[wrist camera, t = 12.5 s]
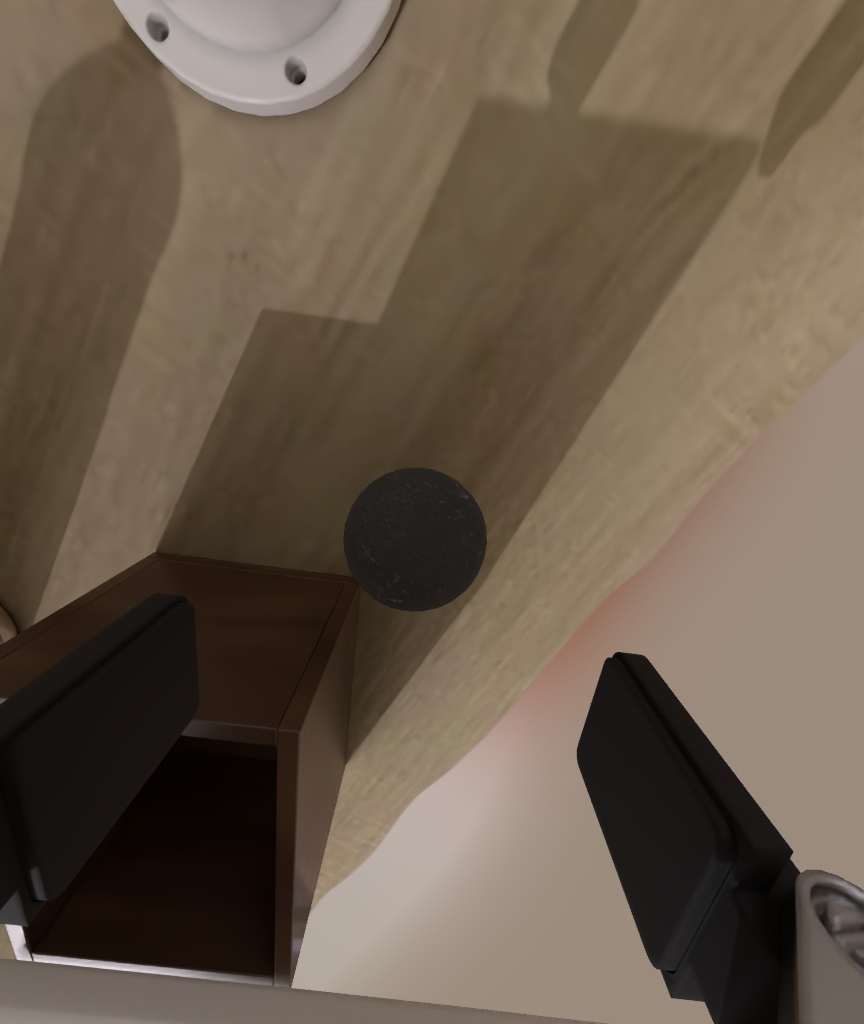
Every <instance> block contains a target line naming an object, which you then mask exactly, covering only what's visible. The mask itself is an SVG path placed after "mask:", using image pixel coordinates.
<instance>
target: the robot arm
mask: <svg viewBox="0 0 864 1024" xmlns="http://www.w3.org/2000/svg"><path fill="white" fill-rule="evenodd" d="M114 2H115V4H116V5H117V7H118V8H119V10H120V11H121V13H122V14H123V16H124V18H125V19H126V21H127V22H128V24H129V25H130V27H131V28H132V29H133V30H134V31H135V33H136V34H137V35H138V36H139V37H140V39H141V40H142V41H143V42H144V43H145V44H146V46H147V47H148V48H149V49H150V50H151V52H152V53H153V54H154V55H155V56H156V57H157V58H158V59H159V60H160V61H161V62H162V63H163V64H164V65H165V66H166V67H167V68H168V69H169V70H170V71H171V72H172V73H173V74H174V75H175V76H176V77H177V78H178V79H179V80H180V81H181V82H183V83H184V84H186V85H187V86H189V87H190V88H192V89H193V90H194V91H196V92H197V93H199V94H200V95H202V96H203V97H205V98H206V99H208V100H210V101H212V102H215V103H217V104H219V105H222V106H224V107H226V108H229V109H231V110H233V111H237V112H242V113H248V114H253V115H258V116H278V115H291V114H295V113H298V112H301V111H304V110H308V109H311V108H314V107H317V106H319V105H320V104H322V103H324V102H325V101H327V100H329V99H330V98H332V97H334V96H335V95H337V94H339V93H341V92H342V91H343V90H344V89H345V88H346V87H347V86H348V85H349V84H350V83H351V82H352V81H353V80H355V79H356V78H357V77H358V76H359V75H360V74H361V73H362V72H363V71H364V70H365V68H366V67H367V65H368V64H369V63H370V61H371V60H372V58H373V57H374V55H375V54H376V53H377V51H378V50H379V48H380V47H381V46H382V44H383V42H384V40H385V38H386V36H387V34H388V32H389V29H390V27H391V25H392V23H393V21H394V19H395V17H396V15H397V12H398V10H399V6H400V3H401V0H114ZM301 80H305V81H304V82H303V83H301V84H300V85H298V84H299V82H300V81H301ZM198 706H199V683H198V664H197V645H196V627H195V610H194V606H193V605H192V604H190V603H188V600H187V598H186V597H184V596H180V595H173V594H165V593H154V594H152V595H151V596H149V597H148V598H147V599H145V600H144V601H142V602H141V603H140V604H138V605H137V606H135V607H134V608H133V609H131V610H130V611H129V612H127V613H126V614H124V615H123V616H122V617H120V618H119V619H117V620H116V621H115V622H113V623H112V624H111V625H109V626H108V627H106V628H105V629H104V630H102V631H101V632H100V633H98V634H97V635H95V636H94V637H93V638H91V639H90V640H88V641H87V642H86V643H84V644H83V645H82V646H80V647H79V648H77V649H76V650H75V651H73V652H72V653H70V654H69V655H68V656H66V657H65V658H64V659H62V660H61V661H59V662H58V663H57V664H55V665H54V666H52V667H51V668H50V669H48V670H47V671H46V672H44V673H43V674H41V675H40V676H39V677H37V678H36V679H35V680H33V681H32V682H30V683H29V684H28V685H26V686H25V687H23V688H22V689H21V690H19V691H18V692H17V693H15V694H14V695H12V696H11V697H10V698H8V699H7V700H5V701H4V702H3V703H1V704H0V924H8V925H17V926H26V927H28V926H29V925H30V924H31V922H32V921H33V920H34V918H35V917H36V916H37V914H38V913H39V912H40V911H41V909H42V908H43V907H44V905H45V904H46V903H47V901H53V900H55V899H56V898H58V897H59V896H60V895H61V894H62V893H63V892H64V891H65V889H66V888H67V887H68V886H69V884H70V883H71V882H72V880H73V879H74V878H75V876H76V875H77V874H78V872H79V871H80V870H81V868H82V867H83V866H84V864H85V863H86V862H87V860H88V859H89V858H90V856H91V855H92V854H93V852H94V851H95V849H96V848H97V847H98V845H99V844H100V843H101V841H102V840H103V839H104V837H105V836H106V835H107V833H108V832H109V831H110V829H111V828H112V827H113V825H114V824H115V823H116V821H117V820H118V819H119V817H120V816H121V815H122V813H123V812H124V811H125V809H126V808H127V807H128V805H129V804H130V802H131V801H132V800H133V798H134V797H135V796H136V794H137V793H138V792H139V790H140V789H141V788H142V786H143V785H144V784H145V782H146V781H147V780H148V778H149V777H150V776H151V774H152V773H153V772H154V770H155V769H156V768H157V766H158V765H159V764H160V762H161V761H162V759H163V758H164V757H165V755H166V754H167V753H168V751H169V750H170V749H171V747H172V746H173V745H174V743H175V742H176V741H177V739H178V738H179V737H180V735H181V734H182V733H183V731H184V730H185V729H186V727H187V726H188V725H189V723H190V722H191V721H192V719H193V718H194V716H195V714H196V712H197V709H198ZM577 761H578V765H579V768H580V771H581V774H582V777H583V779H584V782H585V785H586V788H587V791H588V793H589V796H590V799H591V802H592V804H593V807H594V810H595V813H596V816H597V818H598V821H599V824H600V827H601V829H602V832H603V835H604V838H605V840H606V843H607V846H608V849H609V851H610V854H611V857H612V860H613V862H614V865H615V868H616V870H617V873H618V876H619V879H620V882H621V885H622V887H623V890H624V892H625V895H626V898H627V901H628V904H629V906H630V909H631V912H632V915H633V918H634V920H635V923H636V926H637V928H638V931H639V934H640V937H641V940H642V942H643V945H644V948H645V951H646V953H647V956H648V958H649V960H650V962H651V963H652V965H653V966H654V967H655V968H656V969H660V970H661V973H662V975H663V978H664V980H665V983H666V986H667V989H668V991H669V993H670V996H671V998H677V999H685V1000H694V1001H703V1002H705V1004H706V1006H707V1008H708V1010H709V1013H710V1015H711V1017H712V1020H713V1022H714V1024H864V890H862V889H861V888H859V887H858V886H856V885H854V884H852V883H850V882H849V881H847V880H844V879H843V878H841V877H839V876H837V875H834V874H831V873H828V872H825V871H822V870H806V871H804V872H802V873H800V872H799V870H798V869H797V868H796V866H795V865H794V863H793V862H792V861H791V860H790V857H791V855H792V854H793V850H792V849H791V848H790V846H789V845H788V844H787V842H786V841H785V840H784V839H783V837H782V836H781V835H780V833H779V832H778V831H777V829H776V828H775V827H774V825H773V824H772V823H771V822H770V820H769V819H768V817H767V816H766V815H765V813H764V812H763V811H762V809H761V808H760V807H759V806H758V804H757V803H756V802H755V800H754V799H753V798H752V796H751V795H750V794H749V792H748V791H747V790H746V788H745V787H744V786H743V784H742V783H741V782H740V780H739V779H738V778H737V776H736V775H735V774H734V772H733V771H732V770H731V769H730V767H729V766H728V765H727V763H726V762H725V761H724V759H723V758H722V757H721V755H720V754H719V753H718V751H717V750H716V749H715V747H714V746H713V745H712V743H711V742H710V741H709V739H708V738H707V737H706V735H705V734H704V733H703V732H702V730H701V729H700V728H699V726H698V725H697V724H696V723H695V721H694V720H693V718H692V717H691V716H690V714H689V713H688V712H687V711H686V709H685V708H684V706H683V705H682V704H681V703H680V701H679V700H678V699H677V697H676V696H675V695H674V693H673V692H672V691H671V689H670V688H669V687H668V685H667V684H666V683H665V681H664V680H663V679H662V677H661V676H660V675H659V673H658V672H657V671H656V669H655V668H654V667H653V665H652V664H651V663H650V662H649V660H648V659H647V658H646V657H645V656H643V655H637V654H630V653H622V652H617V653H615V654H614V655H613V657H612V658H607V659H606V660H605V662H604V665H603V669H602V672H601V675H600V678H599V681H598V684H597V687H596V690H595V693H594V696H593V700H592V703H591V706H590V709H589V712H588V715H587V718H586V722H585V725H584V728H583V731H582V734H581V737H580V740H579V743H578V747H577ZM0 1024H605V1023H596V1022H587V1021H579V1020H571V1019H562V1018H553V1017H544V1016H536V1015H527V1014H519V1013H510V1012H502V1011H493V1010H484V1009H476V1008H467V1007H458V1006H449V1005H440V1004H431V1003H422V1002H413V1001H404V1000H395V999H386V998H376V997H368V996H359V995H349V994H340V993H331V992H322V991H313V990H303V989H294V988H285V987H276V986H267V985H257V984H248V983H239V982H230V981H220V980H210V979H201V978H191V977H181V976H171V975H162V974H152V973H142V972H132V971H122V970H113V969H103V968H93V967H83V966H74V965H64V964H54V963H44V962H35V961H24V960H11V959H0Z"/></svg>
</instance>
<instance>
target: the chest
mask: <svg viewBox="0 0 864 1024" xmlns="http://www.w3.org/2000/svg"><path fill="white" fill-rule="evenodd" d="M154 593H165V594H173V595H180V596H184V597H186V598H187V600H188V603H190V604H192V605H193V606H194V610H195V627H196V645H197V664H198V683H199V706H198V709H197V712H196V714H195V716H194V718H193V719H192V721H191V722H190V723H189V725H188V726H187V727H186V729H185V730H184V731H183V733H182V734H181V735H180V737H179V738H178V739H177V741H176V742H175V743H174V745H173V746H172V747H171V749H170V750H169V751H168V753H167V754H166V755H165V757H164V758H163V759H162V761H161V762H160V764H159V765H158V766H157V768H156V769H155V770H154V772H153V773H152V774H151V776H150V777H149V778H148V780H147V781H146V782H145V784H144V785H143V786H142V788H141V789H140V790H139V792H138V793H137V794H136V796H135V797H134V798H133V800H132V801H131V802H130V804H129V805H128V807H127V808H126V809H125V811H124V812H123V813H122V815H121V816H120V817H119V819H118V820H117V821H116V823H115V824H114V825H113V827H112V828H111V829H110V831H109V832H108V833H107V835H106V836H105V837H104V839H103V840H102V841H101V843H100V844H99V845H98V847H97V848H96V849H95V851H94V852H93V854H92V855H91V856H90V858H89V859H88V860H87V862H86V863H85V864H84V866H83V867H82V868H81V870H80V871H79V872H78V874H77V875H76V876H75V878H74V879H73V880H72V882H71V883H70V884H69V886H68V887H67V888H66V889H65V891H64V892H63V893H62V894H61V895H60V896H59V897H58V898H56V899H55V900H53V901H47V903H46V904H45V905H44V907H43V908H42V909H41V911H40V912H39V913H38V914H37V916H36V917H35V918H34V920H33V921H32V922H31V924H30V925H29V926H28V927H26V926H17V925H8V924H5V926H6V929H7V932H8V935H9V938H10V941H11V944H12V947H13V950H14V953H15V956H16V959H17V960H24V961H35V962H44V963H54V964H64V965H74V966H83V967H93V968H103V969H113V970H122V971H132V972H142V973H152V974H162V975H171V976H181V977H191V978H201V979H210V980H220V981H230V982H239V983H248V984H257V985H267V986H276V987H285V988H291V986H292V982H293V978H294V973H295V970H296V966H297V961H298V957H299V953H300V949H301V945H302V941H303V937H304V933H305V929H306V924H307V921H308V917H309V913H310V909H311V904H312V900H313V896H314V892H315V888H316V884H317V880H318V876H319V872H320V868H321V864H322V859H323V855H324V851H325V847H326V843H327V839H328V835H329V831H330V827H331V823H332V819H333V815H334V810H335V806H336V802H337V798H338V794H339V790H340V786H341V782H342V778H343V774H344V770H345V763H346V751H347V740H348V728H349V716H350V704H351V692H352V681H353V669H354V657H355V645H356V633H357V621H358V610H359V598H360V584H359V583H358V582H357V581H356V579H355V578H354V577H346V576H338V575H330V574H322V573H314V572H307V571H299V570H291V569H283V568H275V567H267V566H259V565H251V564H243V563H235V562H227V561H220V560H212V559H204V558H196V557H188V556H180V555H172V554H164V553H156V552H154V553H152V554H151V555H149V556H147V557H146V558H144V559H143V560H141V561H139V562H138V563H136V564H134V565H133V566H131V567H129V568H128V569H126V570H124V571H123V572H121V573H119V574H118V575H116V576H114V577H113V578H111V579H109V580H108V581H106V582H104V583H103V584H101V585H99V586H98V587H96V588H94V589H93V590H91V591H89V592H88V593H86V594H84V595H83V596H81V597H79V598H78V599H76V600H74V601H73V602H71V603H69V604H68V605H66V606H64V607H63V608H61V609H59V610H58V611H56V612H54V613H53V614H51V615H49V616H48V617H46V618H44V619H43V620H41V621H39V622H38V623H36V624H34V625H33V626H31V627H29V628H28V629H26V630H24V631H23V632H21V633H19V634H18V635H16V636H14V637H13V638H11V639H9V640H8V641H6V642H4V643H3V644H1V645H0V704H1V703H3V702H4V701H5V700H7V699H8V698H10V697H11V696H12V695H14V694H15V693H17V692H18V691H19V690H21V689H22V688H23V687H25V686H26V685H28V684H29V683H30V682H32V681H33V680H35V679H36V678H37V677H39V676H40V675H41V674H43V673H44V672H46V671H47V670H48V669H50V668H51V667H52V666H54V665H55V664H57V663H58V662H59V661H61V660H62V659H64V658H65V657H66V656H68V655H69V654H70V653H72V652H73V651H75V650H76V649H77V648H79V647H80V646H82V645H83V644H84V643H86V642H87V641H88V640H90V639H91V638H93V637H94V636H95V635H97V634H98V633H100V632H101V631H102V630H104V629H105V628H106V627H108V626H109V625H111V624H112V623H113V622H115V621H116V620H117V619H119V618H120V617H122V616H123V615H124V614H126V613H127V612H129V611H130V610H131V609H133V608H134V607H135V606H137V605H138V604H140V603H141V602H142V601H144V600H145V599H147V598H148V597H149V596H151V595H152V594H154Z"/></svg>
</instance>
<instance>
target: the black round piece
mask: <svg viewBox="0 0 864 1024" xmlns="http://www.w3.org/2000/svg"><path fill="white" fill-rule="evenodd" d="M486 545H487V540H486V526H485V522H484V518H483V515H482V512H481V510H480V508H479V506H478V504H477V503H476V501H475V500H474V498H473V497H472V495H471V494H470V493H469V492H468V491H467V490H466V489H465V488H464V487H463V486H462V485H461V484H460V483H459V482H458V481H456V480H454V479H453V478H451V477H449V476H447V475H445V474H444V473H441V472H438V471H435V470H431V469H425V468H406V469H400V470H396V471H394V472H391V473H387V474H385V475H383V476H382V477H380V478H378V479H377V480H375V481H374V482H372V483H371V484H369V485H368V486H367V487H366V488H365V489H364V490H363V491H362V492H361V493H360V495H359V496H358V498H357V499H356V501H355V502H354V504H353V505H352V507H351V510H350V512H349V515H348V517H347V520H346V523H345V529H344V551H345V555H346V559H347V563H348V566H349V568H350V570H351V572H352V574H353V576H354V578H355V579H356V581H357V582H358V583H359V584H360V586H361V587H362V588H363V589H364V591H366V592H367V593H368V594H369V595H371V596H372V597H373V598H374V599H376V600H377V601H379V602H380V603H382V604H384V605H386V606H389V607H391V608H396V609H399V610H404V611H426V610H430V609H434V608H438V607H441V606H443V605H445V604H447V603H449V602H451V601H452V600H454V599H455V598H456V597H458V596H459V595H460V594H462V593H463V592H464V591H466V589H467V588H468V587H469V586H470V585H471V584H472V582H473V581H474V579H475V577H476V576H477V574H478V572H479V570H480V568H481V565H482V563H483V560H484V556H485V550H486Z"/></svg>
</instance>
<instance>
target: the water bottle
mask: <svg viewBox="0 0 864 1024" xmlns="http://www.w3.org/2000/svg"><path fill="white" fill-rule="evenodd" d="M16 635H18V634H17V630H16V627H15V625H14V623H13V621H12V619H11V618H10V616H9V615H8V614H7V612H6V611H5V610H4V609H3V608H2V607H1V606H0V645H1V644H3V643H4V642H6V641H8V640H9V639H11V638H13V637H14V636H16Z"/></svg>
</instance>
